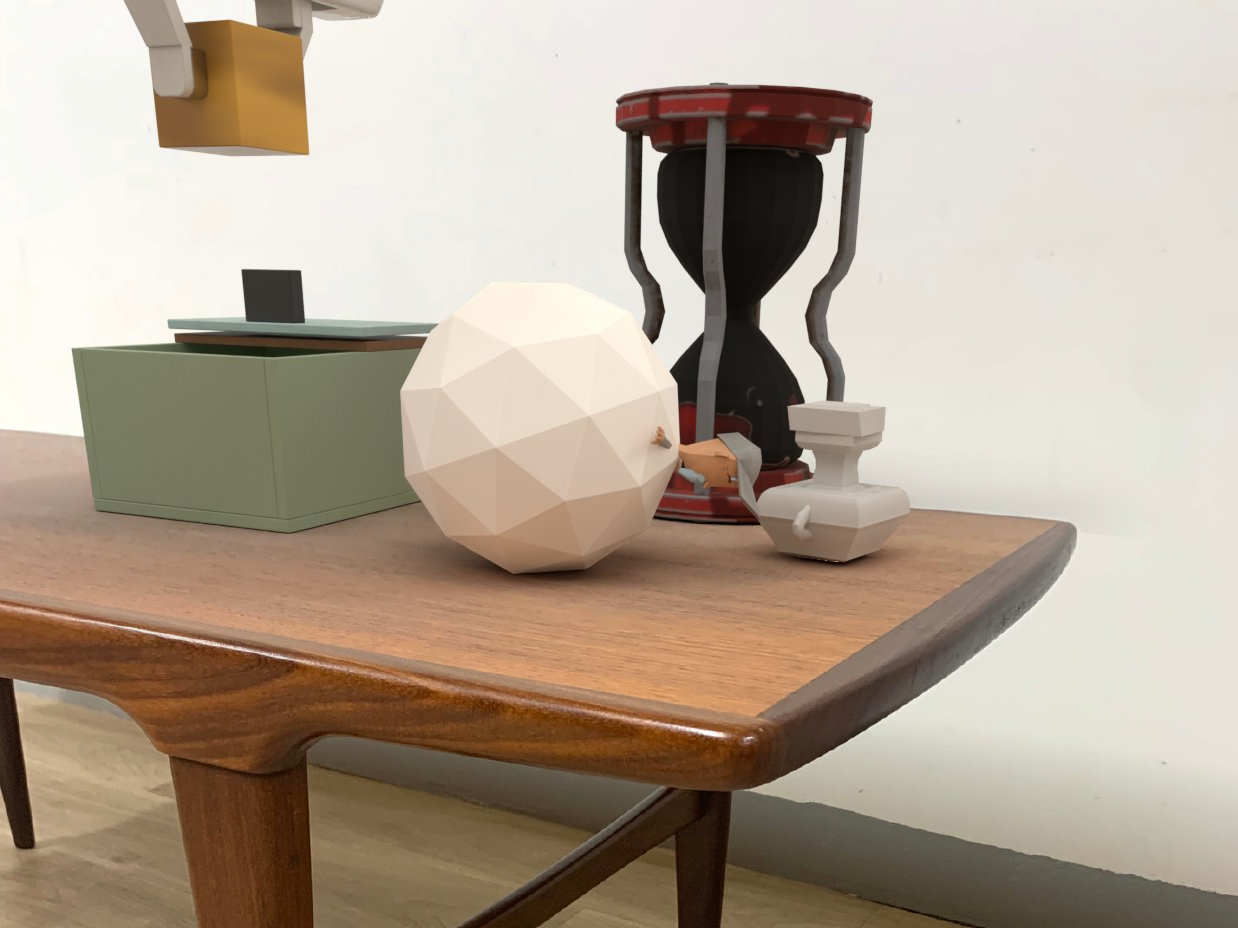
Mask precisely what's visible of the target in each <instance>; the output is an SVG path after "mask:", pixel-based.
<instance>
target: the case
mask: <svg viewBox="0 0 1238 928" xmlns="http://www.w3.org/2000/svg"><path fill="white" fill-rule="evenodd" d="M173 337H174V342H163V343H161V342H160V343H159V342H158V343H142V344H121V345H103V346H85V347H84V346H82V347H80V346H79V347H71V355H72V362H73V369H74V376H75V382H76V389H77V397H78V404H79V411H80V417H81V424H82V425H81V426H82V431H83V438H84V445H85V451H86V458H87V466H88V472H89V477H90V478H89V479H90V486H91V492H92V498H93V502H94V503H93V505H94V510H95V511H98V512H106V513H107V512H108V513H117V514H124V515H125V514H126V515H133V516H142V517H149V518H158V519H167V520H176V521H183V522H191V523H201V524H209V525H217V526H225V527H233V528H243V529H252V530H260V531H268V532H277V533H286V534H291V533H296V532H299V531H304V530H308V529H312V528H315V527H320V526H324V525H328V524H332V523H336V522H340V521H344V520H348V519H352V518H356V517H361V516H364V515H369V514H373V513H376V512H381V511H385V510H389V509H393V508H397V507H400V506H405V505H409V504H414V503H417V502H422V501H421V499H420V498H419V497H418V495H417V494H416V492H415V491H414V489H413V488H412V486H411V485H410V483H409V482H408V481H407V479H406V478H405V469H404V452H403V434H402V416H401V399H400V390H401V388H402V386H403V385H404V383H405V381H406V379H407V377H408V375H409V373H410V371H411V369H412V367H413V365H414V363H415V361H416V359H417V357H418V355H419V353H420V351H421V349H422V347H423V345H424V343H425V341H426V339H427V338H428V336H427V335H425V336H424V335H423V336H422V335H389V336H371V337H350V336H327V335H304V334H281V333H257V332H234V331H196V332H194V331H193V332H174V334H173Z"/></svg>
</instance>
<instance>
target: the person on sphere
mask: <svg viewBox="0 0 1238 928" xmlns="http://www.w3.org/2000/svg"><path fill="white" fill-rule="evenodd" d="M427 337H428V338H427V339H426V341H425V343H424V345H423V347H422V349H421V351H420V353H419V355H418V357H417V359H416V361H415V363H414V365H413V367H412V369H411V371H410V373H409V375H408V377H407V379H406V381H405V383H404V385H403V386H402V388H401V390H400V399H401V416H402V434H403V452H404V469H405V478H406V479H407V481H408V482H409V483H410V485H411V486H412V488H413V489H414V491H415V492H416V494H417V495H418V497H419V498H420V499H421V501H420V502H421V503H422V504H423V506H424V507H425V508H426V510H427V511H428V513H429V514H430V515H431V516H432V518H433V520H434V522H435V523H436V524H437V526H438V527H439V529H440V530H441V532H442V533H443V534H444V536H445V537H447V538H449V539H450V540H452V541H454V542H456V543H458V544H459V545H461V546H463V547H465V548H466V549H468V550H470V551H472V552H473V553H476V554H477V555H479V556H480V557H483V558H484V559H486V560H488V561H490V562H491V563H493V564H495V565H497V566H498V567H500V568H502V569H503V570H505V571H507V572H509V573H511V574H512V575H518V574H533V573H547V572H548V573H549V572H562V571H576V570H577V571H578V570H579V571H580V570H587V569H588V568H590V567H592V566H593V565H594V564H596V563H599V561H600V560H601V561H602V559H604V558H605V557H607V556H609V555H610V554H612V553H613V552H614V551H616V550H618V549H619V548H621V547H622V546H624V545H625V544H626V543H628V542H629V541H631V540H633V539H634V538H636V537H638V536H639V535H640V534H642V533H643V532H645V531H646V530H648V529H649V527H650V525H651V523H652V520H653V518H654V517H655V516H654V514H655V511H656V509H657V507H658V505H659V503H660V500H661V498H662V496H663V494H664V491H665V489H666V487H667V485H668V482H669V480H670V478H671V476H672V473H673V472H674V471H675V470H678V471H679V472H678V473H680V474H681V475H682V476H683V477H685V478H686V479H687V480H689V481H690V482H691V483H698V484H701V485H704V487H703V488H704V489H706V488H709V487H733V488H738V487H739V496H740V498H741V499H742V501H743V504H744V505H745V506H746V507H747V508H748V509H749V510H750V512H751V513H752V514H753V515H754V516H755V517H756V518H758V519H760V520H761V518H760V515H759V511H758V507H757V503H756V499H755V495H754V491H753V487H752V486H753V485H754V483H755V481H756V479H757V477H758V475H759V471H760V468H761V464H762V457H761V449H760V448H759V447H757V446H756V445H754V444H753V443H751V442H750V441H749V440H747V439H746V438H745V437H744V436H742V435H741V434H740V433H738V432H737V433H726V434H717V436H718V438H717V439H712V440H708V441H703V442H699V443H695V444H691V445H687V446H685V445H682V444H680V436H679V412H678V389H677V383H676V381H675V380H674V378H673V377H672V375H671V373H670V372H669V371H670V370H669V369H668V367H667V365H666V364H665V363H664V361H663V359H662V358H661V356H660V355H659V353H658V352H657V350H656V348H654V346H653V345H652V344H651V342H650V341H649V339H648V338H647V336H646V335H645V333H644V332H643V330H642V326H641V325H640V324H639V323H638V321H637V318H636V317H635V316H634V314H633V312H631V311H630V310H628V309H626V308H623V307H621V306H619V305H617V304H615V303H612V302H610V301H608V300H606V299H604V298H602V297H600V296H597V295H595V294H593V293H591V292H589V291H586V290H585V289H582V288H581V287H578V286H576V285H574V284H572V283H569V282H527V281H526V282H525V281H524V282H523V281H520V282H519V281H518V282H517V281H491V282H490V283H488V284H487V285H486V286H485V287H484V288H482V289H481V290H480V291H479V292H478V293H476V294H475V295H473V297H471V298H470V299H469V300H468V301H466V302H465V303H463V304H462V305H461V306H460V307H459V308H457V309H456V310H455V311H454V312H452V313H451V314H449V316H446V318H445V319H443V320H442V321H441V322H440V323H439V325H437V326H436V327H435V328H434V329H432V330H431V332H430V333H428V336H427ZM682 460H683V462H684V466H685V468H681V466H682Z"/></svg>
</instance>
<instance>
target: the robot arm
mask: <svg viewBox="0 0 1238 928" xmlns="http://www.w3.org/2000/svg"><path fill="white" fill-rule="evenodd" d="M253 1H254V6H255V8H254V9H255V18H256V19H255V20H256V26H258V27H262V28H266V29H270V30H274V31H278V32H281V33H285V34H289V35H293V36H297V37H301V39H302V51H303V61H304V60H305V56H306V55H307V51H308V48H309V45H310V42H311V39H312V36H313V34H314V24H313V22H314V21H313V18H316V19H319V20H323V21H330V22H336V21H337V22H338V21H357V20H358V21H359V20H367V19H368V20H369V19H374V18H376V17H378V16H379V15H380V12H381V10H382V7H383V5H384V3H385V0H253ZM123 2H124V4H125V6H126V8H127V11H128V12H129V14H130V17H131V18H132V20H133V22H134V24H135V26H136V29H137V30H138V33H139V35H140V36H141V39H142V40H143V43H144V44H145V47H146V48H148V54H149V53H150V57H149V62H150V61H151V66H150V71H151V70H152V75H151V80H152V79H153V85H152V88H153V87H154V89H155V92H156V93H157V94H158V95H159V96H161V97H167V98H173V99H180V100H203V99H204V98H206V97H207V94H208V91H209V87H208V79H207V76H206V74H207V64H206V53H205V51H202V50H198V49H194V48H192V47H193V46H192V43H191V40H190V38H189V35H188V32H187V29H186V27H185V24H184V23H185V21H184V19H183V16H182V13H181V11H180V8H179V5H178V3H177V0H123Z"/></svg>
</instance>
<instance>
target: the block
mask: <svg viewBox="0 0 1238 928" xmlns="http://www.w3.org/2000/svg"><path fill="white" fill-rule="evenodd" d="M184 24H185V27H186V29H187V32H188V35H189V38H190V40H191V43H192V46H193V47H192V48H194V49H198V50H202V51H205V53H206V64H207V74H206V76H207V79H208V87H209V91H208V94H207V97H206V98H204V99H203V100H180V99H173V98H167V97H161V96H159V95H158V94H157V93H156V92H155V89H154V87H153V79H152V78H151V83H152V84H151V85H152V92H153V93H152V95H153V104H154V111H155V121H156V131H157V137H158V138H157V139H158V146H159V148H160V149H161V148H162V149H168V150H177V151H185V152H191V153H202V154H210V155H217V156H225V157H283V156H309V155H310V144H309V143H310V142H309V128H308V126H309V125H308V113H307V112H308V111H307V98H306V97H307V96H306V82H305V69H304V68H305V66H304V60H303V51H302V39H301V37H297V36H293V35H289V34H285V33H281V32H278V31H274V30H270V29H266V28H262V27H258V26H257V25H253V24H250V23H245V22H242V21H238V20H234V19H220V20H219V19H217V20H216V19H215V20H204V21H203V20H202V21H188V22H187V21H186V22H184ZM148 55H149V56H148V57H149V58H150V53H149V52H148ZM149 66H150V67H151V61H150V60H149ZM150 74H151V75H150V76H152V70H151V69H150Z"/></svg>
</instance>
